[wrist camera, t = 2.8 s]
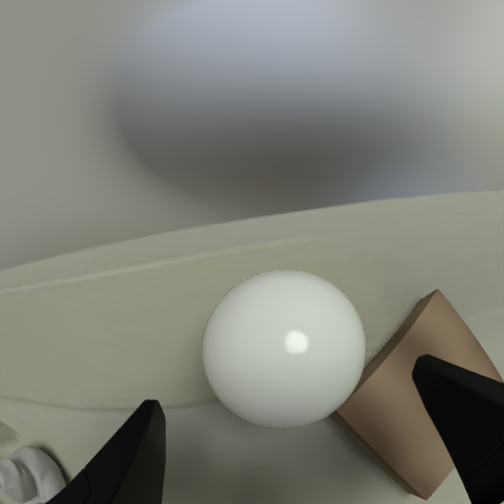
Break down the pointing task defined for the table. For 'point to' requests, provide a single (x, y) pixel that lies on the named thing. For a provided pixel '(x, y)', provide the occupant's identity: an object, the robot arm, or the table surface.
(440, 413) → the robot arm
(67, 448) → the table surface
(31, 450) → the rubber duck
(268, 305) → the lightbulb
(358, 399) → the walnut plinth
